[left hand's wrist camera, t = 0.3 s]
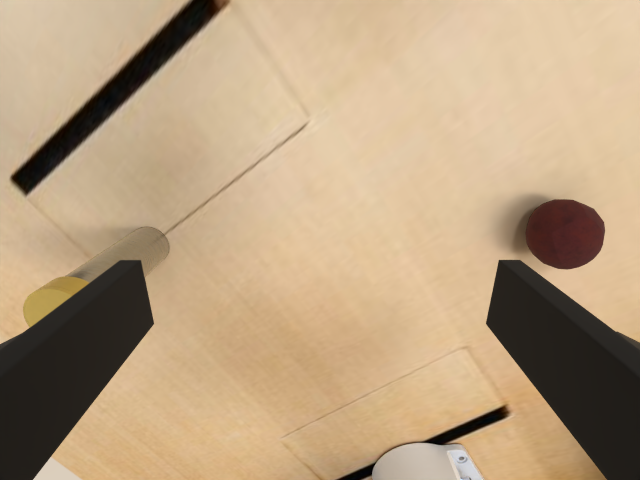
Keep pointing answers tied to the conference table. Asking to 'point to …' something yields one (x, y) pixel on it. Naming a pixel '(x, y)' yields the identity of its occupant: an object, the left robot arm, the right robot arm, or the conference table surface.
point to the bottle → (127, 253)
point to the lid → (50, 297)
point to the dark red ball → (565, 233)
